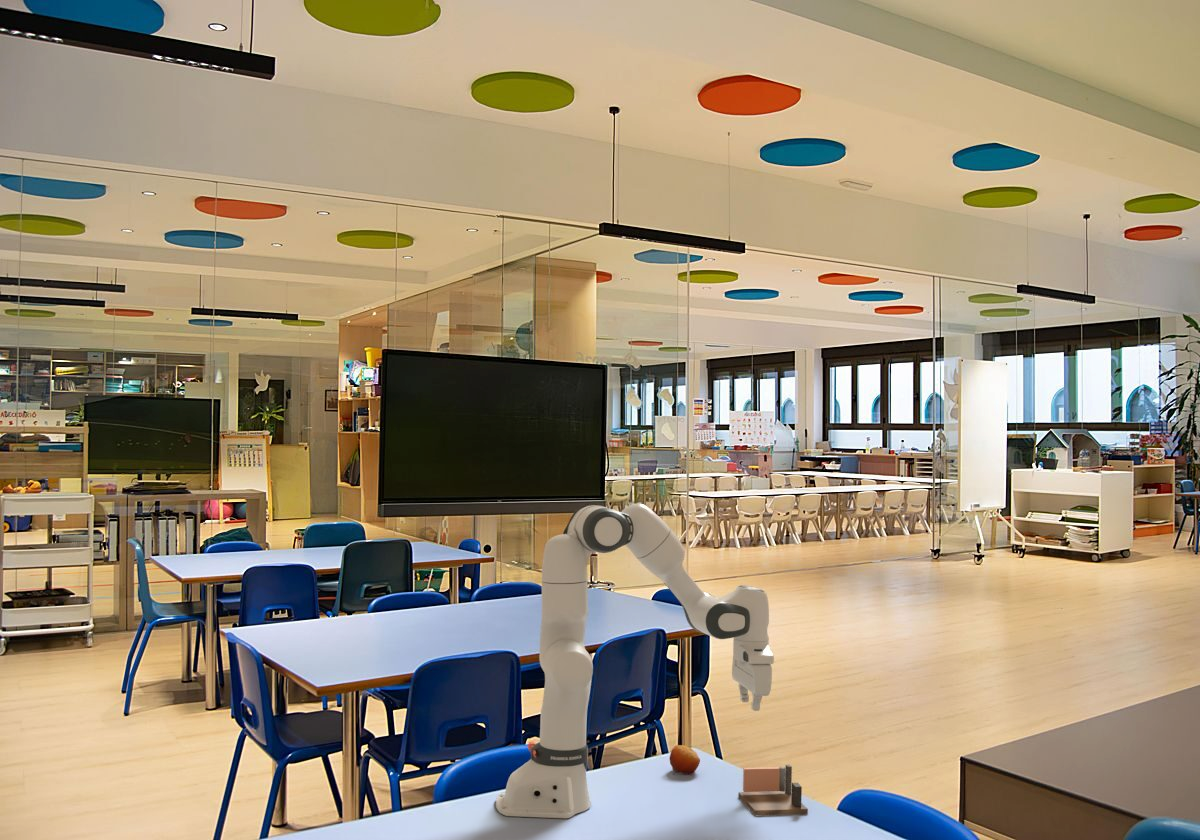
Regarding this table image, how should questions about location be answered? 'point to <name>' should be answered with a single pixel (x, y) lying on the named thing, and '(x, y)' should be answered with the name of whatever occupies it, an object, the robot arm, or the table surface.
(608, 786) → the table surface
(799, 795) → the gate frame
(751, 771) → the gate
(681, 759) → the fruit
